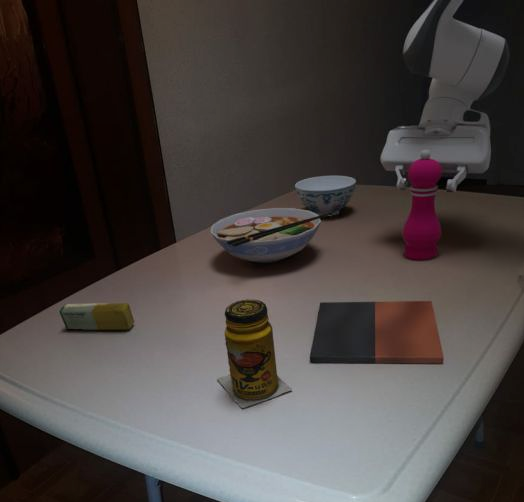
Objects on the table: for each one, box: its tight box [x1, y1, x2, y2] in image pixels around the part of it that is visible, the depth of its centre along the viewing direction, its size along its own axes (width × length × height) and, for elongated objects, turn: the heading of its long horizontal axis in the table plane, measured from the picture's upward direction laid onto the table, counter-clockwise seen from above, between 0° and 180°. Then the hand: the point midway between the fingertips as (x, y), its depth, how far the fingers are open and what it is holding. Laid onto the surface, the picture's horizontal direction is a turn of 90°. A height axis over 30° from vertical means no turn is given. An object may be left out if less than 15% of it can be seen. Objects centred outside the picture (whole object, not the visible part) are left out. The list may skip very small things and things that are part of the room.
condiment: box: [216, 299, 293, 409], centre depth 72 cm, size 7×8×12 cm
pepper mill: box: [402, 150, 442, 261], centre depth 106 cm, size 7×7×20 cm
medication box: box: [59, 302, 135, 330], centre depth 94 cm, size 12×3×4 cm, turn 78°
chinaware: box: [294, 175, 357, 216], centre depth 140 cm, size 15×15×8 cm
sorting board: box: [309, 300, 445, 364], centre depth 84 cm, size 18×18×1 cm
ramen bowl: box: [210, 207, 333, 264], centre depth 116 cm, size 25×23×8 cm
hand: (425, 189), depth 105 cm, fingers open, 8 cm apart
